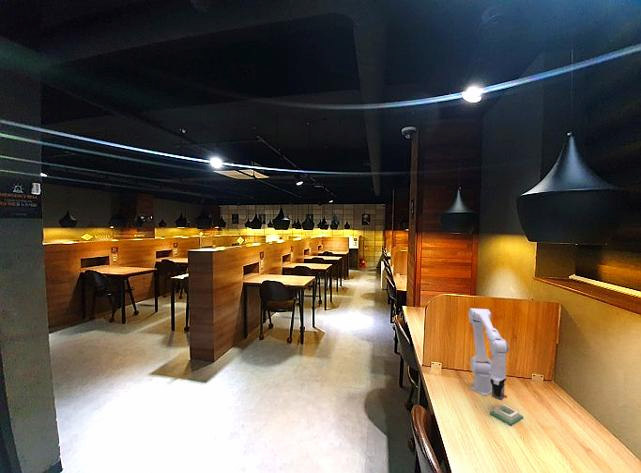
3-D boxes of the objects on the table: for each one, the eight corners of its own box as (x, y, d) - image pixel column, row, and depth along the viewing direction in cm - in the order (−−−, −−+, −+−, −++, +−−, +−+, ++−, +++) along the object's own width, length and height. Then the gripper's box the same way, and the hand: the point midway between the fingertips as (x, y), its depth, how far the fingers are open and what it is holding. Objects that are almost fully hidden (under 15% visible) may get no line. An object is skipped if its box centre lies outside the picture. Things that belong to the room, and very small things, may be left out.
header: (502, 407, 133) (502, 403, 133) (518, 416, 127) (519, 411, 127) (494, 412, 130) (494, 407, 130) (510, 421, 124) (510, 416, 124)
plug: (494, 393, 135) (495, 381, 135) (508, 399, 130) (508, 386, 130) (491, 396, 132) (492, 384, 132) (505, 402, 128) (505, 389, 128)
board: (502, 407, 135) (502, 405, 135) (523, 418, 127) (523, 416, 127) (489, 414, 130) (489, 412, 130) (510, 426, 122) (510, 423, 122)
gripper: (491, 357, 140) (490, 384, 140) (486, 368, 129) (485, 396, 129) (507, 362, 135) (507, 389, 135) (504, 373, 124) (503, 403, 124)
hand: (498, 393), depth 132 cm, fingers closed on plug, 5 cm apart
